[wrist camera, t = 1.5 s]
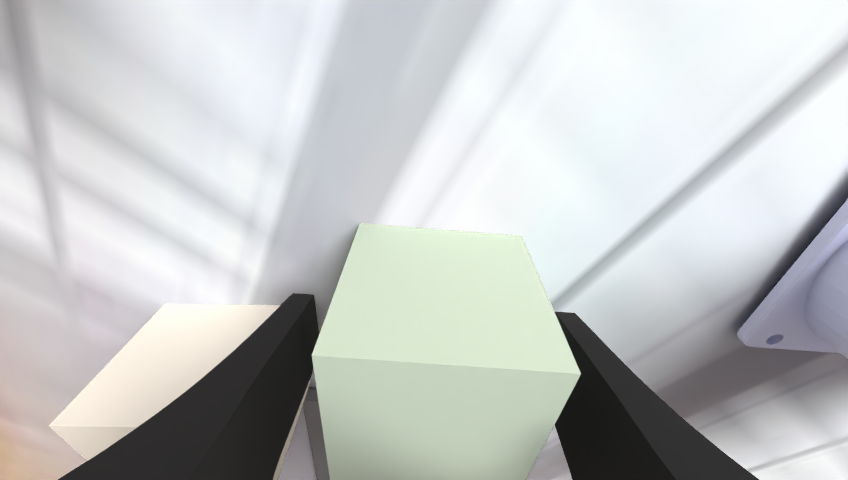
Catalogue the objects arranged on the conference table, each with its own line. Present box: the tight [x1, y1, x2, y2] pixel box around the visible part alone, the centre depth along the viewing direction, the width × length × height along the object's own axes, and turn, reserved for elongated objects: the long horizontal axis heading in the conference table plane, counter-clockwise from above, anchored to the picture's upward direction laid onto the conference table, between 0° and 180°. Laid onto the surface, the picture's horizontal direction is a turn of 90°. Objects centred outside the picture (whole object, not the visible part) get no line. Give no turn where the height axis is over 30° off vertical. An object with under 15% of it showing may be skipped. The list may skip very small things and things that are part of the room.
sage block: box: [312, 223, 581, 480], centre depth 10 cm, size 5×5×5 cm
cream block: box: [49, 304, 310, 480], centre depth 12 cm, size 4×4×4 cm
